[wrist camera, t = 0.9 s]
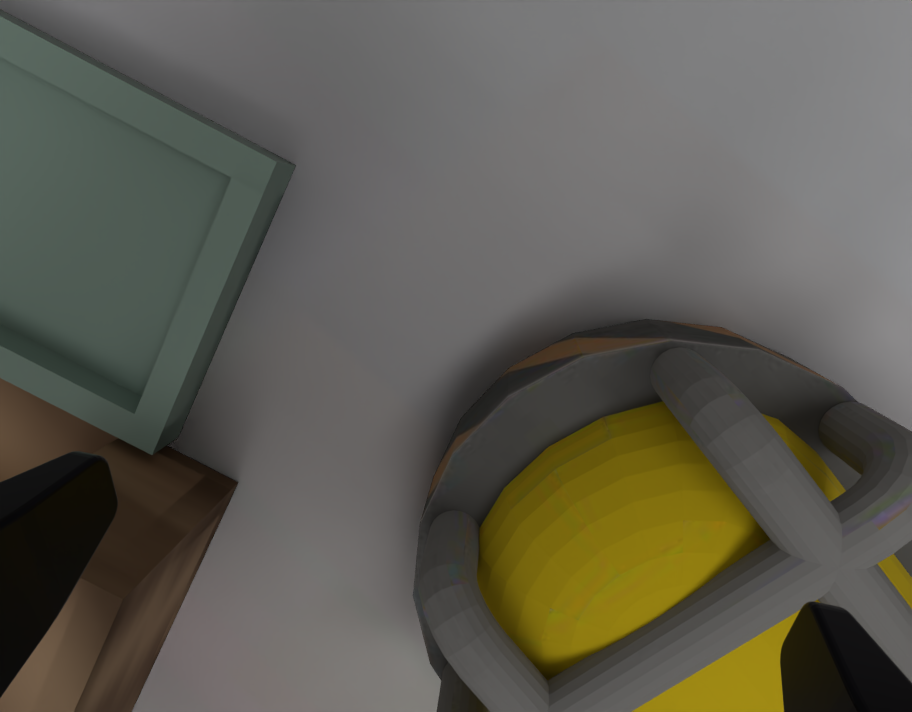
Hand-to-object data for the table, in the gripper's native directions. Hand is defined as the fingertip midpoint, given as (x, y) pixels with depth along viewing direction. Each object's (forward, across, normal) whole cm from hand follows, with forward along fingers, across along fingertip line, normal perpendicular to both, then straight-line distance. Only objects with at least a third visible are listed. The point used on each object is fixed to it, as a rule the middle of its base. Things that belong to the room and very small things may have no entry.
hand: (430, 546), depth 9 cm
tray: (+12, +17, +1) cm, 21 cm away
